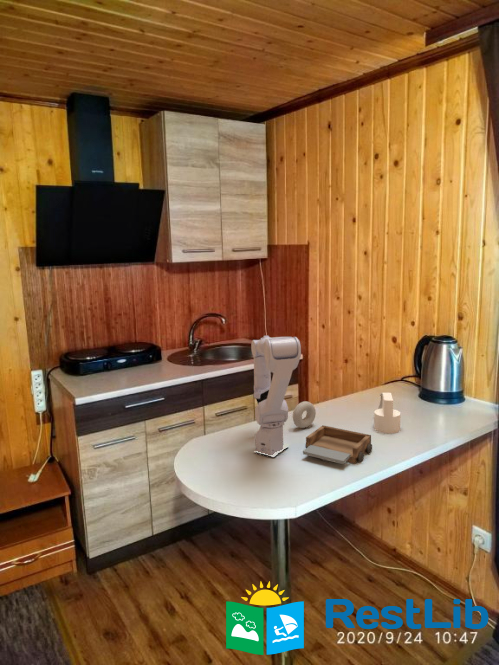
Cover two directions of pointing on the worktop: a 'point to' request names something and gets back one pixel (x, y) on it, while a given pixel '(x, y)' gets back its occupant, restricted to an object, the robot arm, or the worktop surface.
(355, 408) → the worktop surface
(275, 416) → the robot arm
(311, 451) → the tailgate
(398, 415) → the cylinder with rectangular tab
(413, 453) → the worktop surface
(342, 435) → the box
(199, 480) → the worktop surface
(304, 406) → the donut
